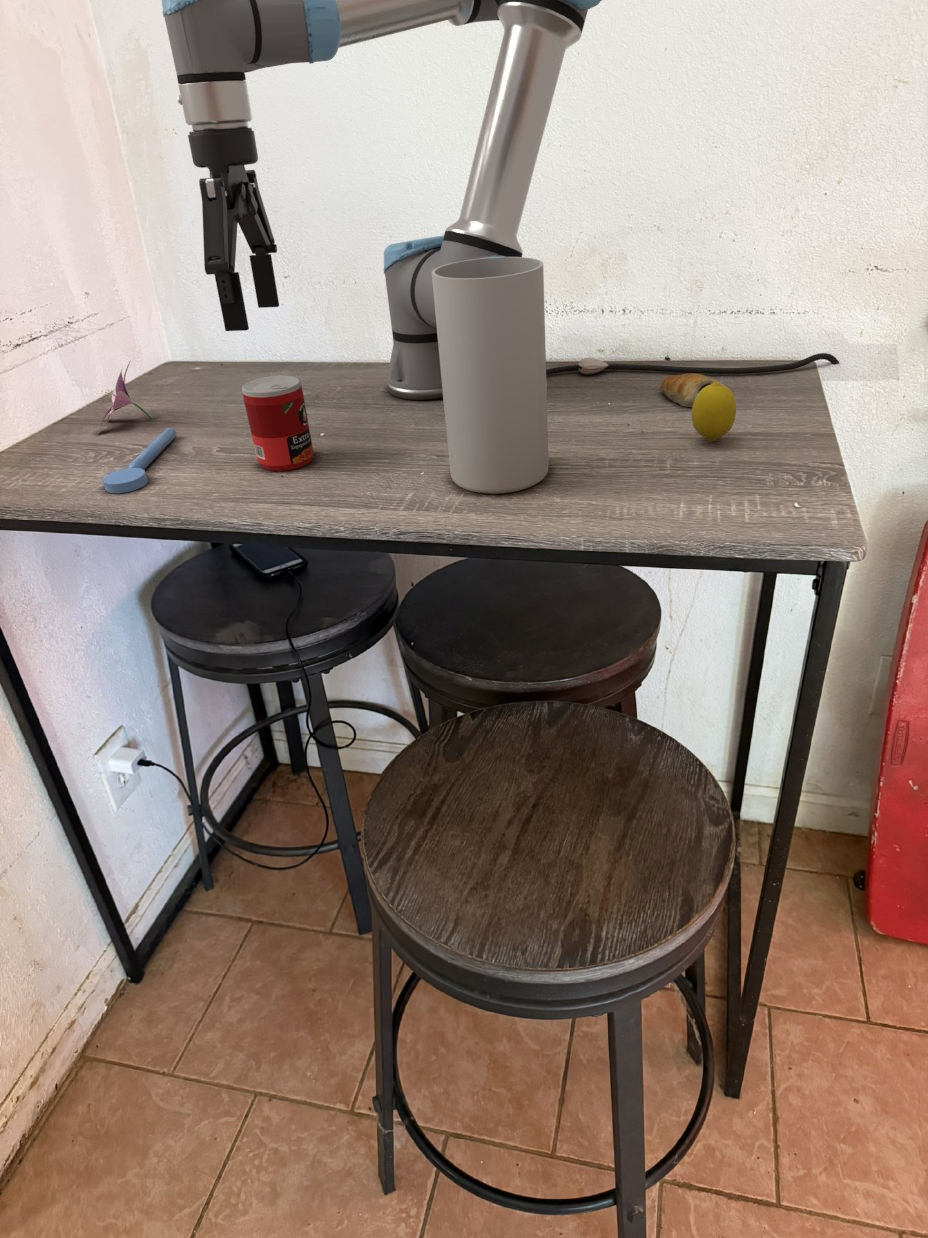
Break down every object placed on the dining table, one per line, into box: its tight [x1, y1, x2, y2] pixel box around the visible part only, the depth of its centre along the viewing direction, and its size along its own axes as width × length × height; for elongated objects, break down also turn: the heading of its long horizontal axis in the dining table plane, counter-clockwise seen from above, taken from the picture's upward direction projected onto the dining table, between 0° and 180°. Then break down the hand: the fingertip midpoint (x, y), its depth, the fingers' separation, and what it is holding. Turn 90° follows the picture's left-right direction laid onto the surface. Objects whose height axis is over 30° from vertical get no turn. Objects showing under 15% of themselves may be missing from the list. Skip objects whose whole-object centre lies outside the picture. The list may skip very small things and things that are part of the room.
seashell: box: [578, 357, 609, 376], centre depth 141 cm, size 4×5×2 cm
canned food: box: [241, 374, 315, 472], centre depth 115 cm, size 8×8×11 cm
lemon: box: [691, 381, 737, 443], centre depth 110 cm, size 6×6×8 cm
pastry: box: [659, 373, 718, 408], centre depth 127 cm, size 9×7×4 cm
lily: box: [98, 361, 154, 432], centre depth 136 cm, size 12×12×10 cm
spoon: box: [102, 427, 177, 494], centre depth 121 cm, size 21×6×2 cm, turn 177°
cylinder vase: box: [432, 256, 550, 495], centre depth 101 cm, size 12×12×25 cm
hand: (254, 318), depth 108 cm, fingers open, 13 cm apart
